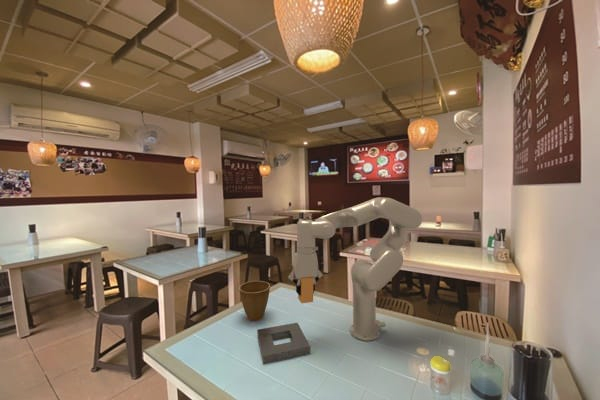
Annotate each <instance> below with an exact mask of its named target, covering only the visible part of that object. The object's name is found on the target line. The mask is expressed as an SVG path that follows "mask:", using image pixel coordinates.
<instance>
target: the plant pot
mask: <svg viewBox="0 0 600 400" xmlns="http://www.w3.org/2000/svg"><path fill="white" fill-rule="evenodd" d="M238 289H239V296H240V300H241V303H242V304H241V305H242V307H243V310H244V312H245V315H246V318H247V320H248V321H250V322H259V321H261V320H262V319H263V318H264V315H265V312H266V310H267V309H266V308H267V305H268V302H269V295H270V289H271V285H270V283H269V282H267V281H263V280H251V281H247V282H244V283H242V284H241V285H240V286H239V288H238Z"/></svg>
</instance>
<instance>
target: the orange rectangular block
mask: <svg viewBox="0 0 600 400" xmlns="http://www.w3.org/2000/svg"><path fill="white" fill-rule="evenodd" d="M300 286H301V295H300V296H299V295H298V294H297V298H298V299H297V300H299V302H300V303H301V304H307V303H314V294H313V277H311V278H301V282H300Z"/></svg>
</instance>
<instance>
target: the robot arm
mask: <svg viewBox="0 0 600 400" xmlns="http://www.w3.org/2000/svg"><path fill="white" fill-rule="evenodd" d="M380 218H382V219H386V220H388V223H389V224H388V225H389V226H388V230H387V231H386V233H385V234H384V235H383V237H382V238H381V239H379V240H378V241H377V243H376V244H375V245H374V246H373V247H372V248H371V250H370V252H369V258H370V259H371V260H372V261H373V263H371V262H370V261H368V260H366V259H357V260H356V261H354V262H353V264H352V266H351V270H350V276H351V283H352V314H353V316H352V319H353V320H352V321H353V322H352V323H353V324H351V325H350V327H349V333H350V334H351V336H353V338H356V339H357V340H360V341H364V342H365V341H366V342H368V341H369V342H371V341H374V340H377V339H378V338H380V328H385V327H386V326H387V324H386V322H385V321H381V322H380V320H379V319H377V318H376V316H377V314H376V313H377V312H376V310H377V309H376V307H377V306H376V305H377V302H376V300H377V299H376V293H377V291H380V290H381V289H382V288H384V287H385V286H386V285H387V284H388V283H389V282H390V281H391V280H392V279H393V277H394V276H395V275H396V274H397V273H398V272H399V271H400V270H401V268H402V266H403V264H404V256H403V254H402V253H403V252H401V248H402V247H403V246H404V245H405V243H406V241H407V238H408V230H416V229H418V228H419V227H420V226H421V225H422V223H423V215H422V214H421V212H420V211H419V210H418V209H416V208H414V207H412V206H410V205H407V204H405V203H403V202H400V201H397V200H396V199H394V198H391V197H375V198H371V199H370V200H366V201H364V202H362V203H359V204H356V205H353V206H351V207H347V208H344V209H341V210H337V211H334V212H331V213H328V214H326V215H322V216H320V217H318V218H316V219H315V220H311V219H301V220H298V221H297V223H296V252H295V253H294V256H293V261H292V262H293V263H292V271H291V273H289V275H288V276H287V278H288V279H289V280H290V281H292V282H293V283H294V284H295V293H297V296H298V295H299V296H300V295H301V286H300V282H301V278H311V277H313V295H314V293H315V290H316V285H317V282H318V280H320V279H321V277H323V273H322V272H321V270H320V269H319V262H318V261H319V260H318V256H317V255H318V254H317V253H316V251H318V250H319V247H318V246H316V239H323V240H327V239H330V238H332V237H333V236H335V234H336V229H341V228H352V227H353V228H354V227H359V226H362V225H364V224H366V223H369V222H371V221H374V220H377V219H380Z"/></svg>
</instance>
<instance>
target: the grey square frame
mask: <svg viewBox="0 0 600 400" xmlns="http://www.w3.org/2000/svg"><path fill="white" fill-rule="evenodd" d="M256 330H257V334H256V335H257V341H258V345H259V350H260V355H261V359H262V364H263V365H266V364H271V363H276V362H280V361H284V360H289V359H294V358H298V357H302V356H307V355H311V345H310V343H309V341H308V339H307V338H306V336H305V334H304V332H303V329H301V327H300V325H299V323H298V322H293V323H286V324H281V325H276V326H275V325H274V326H270V327H265V328H259V329H256ZM287 338H289V340H290V341H289V342H283V343H278V344H275V343H274V341H277V340H283V339H287Z"/></svg>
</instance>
